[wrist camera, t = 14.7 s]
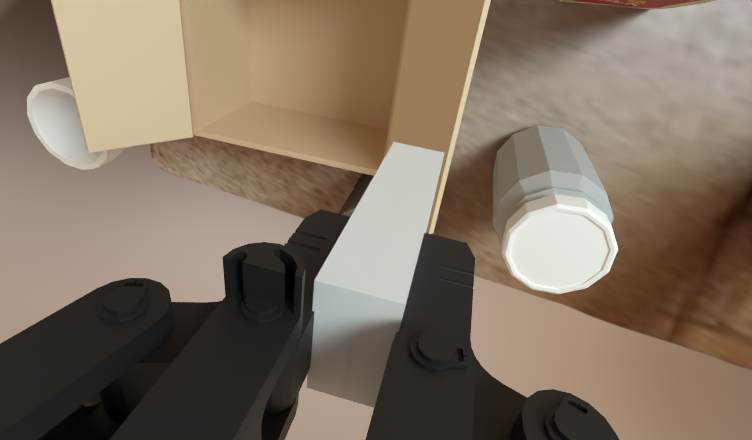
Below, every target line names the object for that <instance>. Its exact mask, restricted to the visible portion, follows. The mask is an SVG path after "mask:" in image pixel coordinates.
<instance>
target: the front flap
mask: <svg viewBox="0 0 752 440" xmlns="http://www.w3.org/2000/svg"><path fill="white" fill-rule="evenodd" d="M490 2H491V0H411V7H410V13H409V19H408V26H407V32H406V38H405V45H404V51H403V57H402V63H401V70H400V76H399V82H398V89H397V95H396V101H395V108H394V114H393V120H392V127H391V133H390V139H389V146H388V151H389V149H390V148H391V146H392V144H393V142H397V143H402V144H406V145H411V146H416V147H420V148H425V149H430V150H434V151H439V152H444V157H443V162H442V166H441V170H440V175H439V179H438V183H437V187H436V192H435V196H434V200H433V205H432V209H431V213H430V217H429V222H428V226H427V230H426V231H427V232H428V233H429V234H432V233H434V228H435V224H436V220H437V216H438V212H439V208H440V204H441V200H442V196H443V192H444V188H445V184H446V180H447V176H448V172H449V168H450V164H451V160H452V156H453V152H454V147H455V143H456V139H457V135H458V131H459V127H460V123H461V119H462V115H463V111H464V107H465V103H466V99H467V95H468V91H469V87H470V83H471V79H472V75H473V71H474V67H475V62H476V58H477V54H478V50H479V46H480V42H481V38H482V34H483V30H484V26H485V22H486V18H487V14H488V10H489V6H490ZM387 153H388V152H387Z"/></svg>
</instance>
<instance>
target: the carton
mask: <svg viewBox="0 0 752 440" xmlns="http://www.w3.org/2000/svg"><path fill="white" fill-rule="evenodd" d="M410 7H411V0H180V8H181V18H182V28H183V38H184V48H185V58H186V67H187V77H188V87H189V97H190V107H191V117H192V127H193V135H196V136H200V137H205V138H209V139H214V140H218V141H222V142H227V143H231V144H236V145H240V146H245V147H249V148H253V149H258V150H262V151H267V152H271V153H275V154H280V155H284V156H289V157H293V158H298V159H302V160H306V161H311V162H315V163H320V164H324V165H328V166H333V167H337V168H342V169H346V170H350V171H355V172H359V173H364V174H368V175H373V176H374V175H375V174H376V172H377V170H378V168H379V167H380V165H381V163H382V161H383V160H384V158H385V156H386V154H387V152H388V146H389V139H390V133H391V127H392V120H393V114H394V108H395V101H396V95H397V89H398V82H399V76H400V70H401V63H402V57H403V51H404V45H405V38H406V32H407V26H408V19H409V13H410Z"/></svg>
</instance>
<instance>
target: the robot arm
mask: <svg viewBox="0 0 752 440" xmlns="http://www.w3.org/2000/svg"><path fill="white" fill-rule="evenodd" d="M443 157H444V152H439V151H434V150H430V149H425V148H420V147H416V146H411V145H406V144H402V143H397V142H393V144H392V146H391V148H390V149H389V151H388V153H387V154H386V156H385V158H384V160H383V161H382V163H381V165H380V167H379V168H378V170H377V172H376V174H375V175H374V177H373V179H372V181H371V182H370V184H369V186H368V188H367V189H366V191H365V193H364V195H363V196H362V198H361V200H360V202H359V203H358V205H357V207H356V209H355V210H354V212H353V214H352V216H351V217H350V216H345V215H341V214H337V213H333V212H329V211H325V210H319V211H318V212H316V213H314V214H312V215H310V216H308V217H306V218H305V219H304V220H303V221H302V223H301V224H300V225H299V227H298V228H297V229H296V232H295V233H293V235H292V236H291V237H290V239H289V240H288V243H287V244H285V245H284V246H283V245H281V244H274V243H266V242H263V243H252V244H247V245H244V246H241V247H238V248H235V249H233V250H232V251H230V252H229V253H228V254H226V255H225V256H224V257H223V268H224V281H225V294H226V297H225V298H224V299H223V301H219V302H208V303H194V302H171V298H170V293H169V290H168V289H167V288H166V287H165V286H164V285H163V284H161V283H160V282H157V281H154V280H151V279H147V278H146V279H145V278H129V279H124V280H119V281H114V282H111V283H109V284H107V285H104V286H102V287H100V288H97V289H95V290H93V291H92V292H90V293H88V294H86V295H85V296H83V297H82V298H80V299H78V300H76V301H74V302H72V303H71V304H69V305H67V306H65V307H64V308H62V309H60V310H59V311H57V312H55V313H53V314H51V315H50V316H48V317H46V318H44V319H43V320H41V321H39V322H38V323H36V324H34V325H32V326H30V327H29V328H27V329H25V330H23V331H22V332H20V333H18V334H17V335H15V336H13V337H11V338H9V339H8V340H6V341H4V342H3V343H1V344H0V440H284V439H285V437H286V435H287V433H288V430H289V428H290V426H291V423H292V421H293V419H294V417H295V414H296V410H297V405H298V395H299V391H300V388H301V386H302V384H303V382H304V380H305V378H306V375H307V373H308V377H307V388H310V389H314V390H317V391H320V392H324V393H327V394H330V395H334V396H338V397H340V398H344V399H347V400H351V401H354V402H357V403H361V404H364V405H367V406H371V407H374V411H373V415H372V418H371V422H370V426H369V430H368V433H367V437H366V440H619V438H618V437H617V435H616V433H615V432H614V431H613V429H612V428H611V426H610V425H609V423H608V422H607V420H606V419H605V418H604V417H603V416H602V415H601V414H600V413H599V412H598V411H597V410H596V409H594V408H593V407H592V406H591V405H590V404H589V403H587V402H585V401H583V400H581V399H580V398H578V397H576V396H574V395H572V394H570V393H566V392H562V391H558V390H554V389H553V390H542V391H537V392H536V393H534V394H533V395H531V396H530V397H528V398H526V397H525V396H523V395H521V394H520V393H518V392H516V391H514V390H513V389H511V388H509V387H507V386H506V385H504V384H502V383H501V382H499V381H498V380H496V379H495V378H494V377H492V376H491V375H490V374H489V373H488V372H487V371H486V370H485V369H484V368H483V367H482V366H481V365H480V363H479V362H478V360H477V359H476V357H475V355H474V353H473V350H472V348H471V341H470V333H471V316H472V300H473V298H472V297H473V282H474V266H475V257H474V255H473V254H472V252H471V250H470V248H469V246H468V244H467V243H464V242H460V241H456V240H452V239H448V238H444V237H439V236H435V235H431V234H427V233H426V230H427V226H428V222H429V217H430V213H431V209H432V205H433V200H434V196H435V192H436V187H437V183H438V179H439V175H440V170H441V166H442V162H443Z"/></svg>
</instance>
